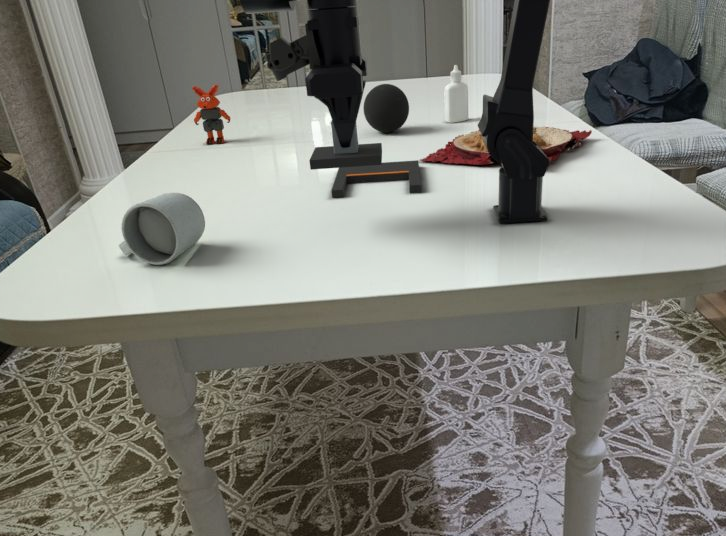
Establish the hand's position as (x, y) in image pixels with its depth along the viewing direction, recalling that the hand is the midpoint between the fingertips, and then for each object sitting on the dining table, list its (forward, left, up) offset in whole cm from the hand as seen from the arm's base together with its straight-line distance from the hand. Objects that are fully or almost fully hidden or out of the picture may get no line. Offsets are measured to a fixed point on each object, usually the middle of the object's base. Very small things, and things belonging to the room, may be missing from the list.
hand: (346, 144), depth 82 cm
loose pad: (0, 0, -2) cm, 2 cm away
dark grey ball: (+63, -4, -11) cm, 64 cm away
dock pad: (+22, -3, -11) cm, 24 cm away
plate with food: (+38, -27, -11) cm, 47 cm away
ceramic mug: (-7, +24, -11) cm, 28 cm away
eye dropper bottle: (+71, -20, -11) cm, 74 cm away
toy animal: (+63, +35, -11) cm, 73 cm away
